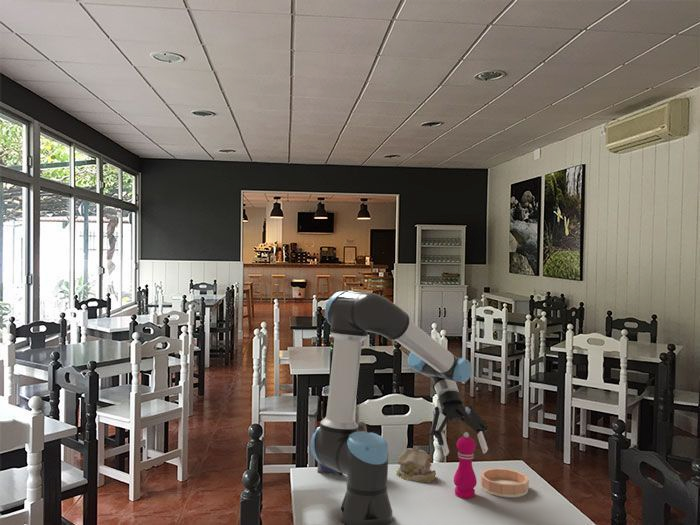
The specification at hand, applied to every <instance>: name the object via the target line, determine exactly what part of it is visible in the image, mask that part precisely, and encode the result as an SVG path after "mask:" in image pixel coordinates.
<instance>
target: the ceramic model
mask: <svg viewBox="0 0 700 525" xmlns="http://www.w3.org/2000/svg"><path fill="white" fill-rule="evenodd" d="M431 462H432V458H431V456H430V454H428V453H427V451H425V450H422V449H419V447H418V446H413V447H411V448H410V447H408V448H406V449H405V450H404V451H403V452H402V453H401V454H399V457H398V461H397V464H398V465H400V467H398V470H396V473H395V474H396V476H397V475H398V476H399V477H398V476H397V477H398V478H400V477H401V478H400V479H402V478H403V479H402V480H405V479H408V480H407V481H411V480H413V481H412V482H418V481H421V483H430V482H432V481H434V480H435V479H436V475H437V474H436V473H437V472H436V470H432V469H431V466H432V464H431Z"/></svg>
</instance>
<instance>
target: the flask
mask: <svg viewBox="0 0 700 525" xmlns="http://www.w3.org/2000/svg"><path fill="white" fill-rule="evenodd" d="M316 471H317V472H318V473H321V474H326V475H334V474H335V475H334V476H343V475H342V474H343V473H341V472H338V471H336V470H334V469H331V468H328V467H325V466H324V465H322V464H321V463H319V462H318V461H317V468H316Z"/></svg>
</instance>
